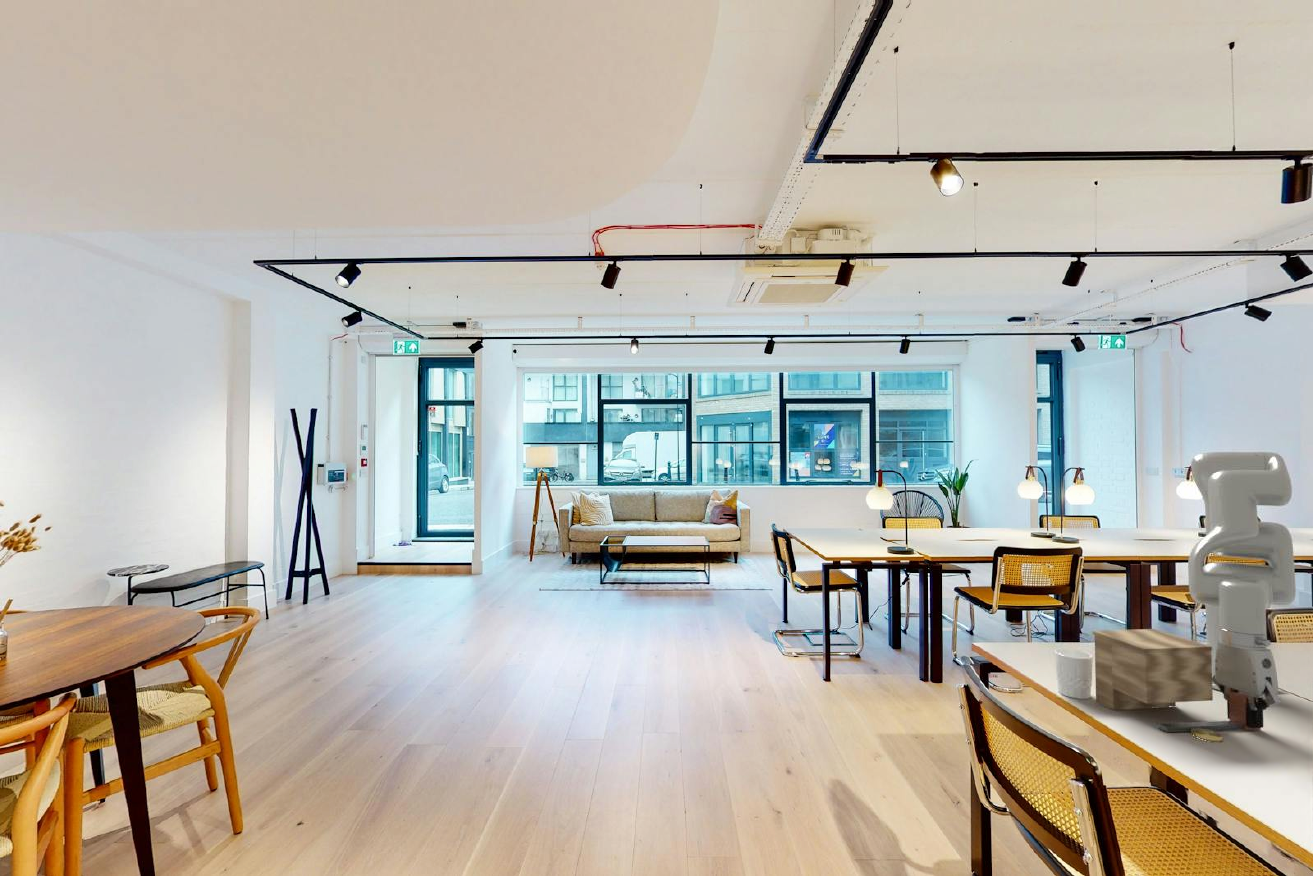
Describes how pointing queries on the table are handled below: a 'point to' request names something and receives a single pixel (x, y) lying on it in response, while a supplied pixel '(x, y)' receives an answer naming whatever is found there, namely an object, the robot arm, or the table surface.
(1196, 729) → the brass token
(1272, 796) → the table surface
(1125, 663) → the oak bench cabinet
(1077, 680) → the white cup
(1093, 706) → the table surface
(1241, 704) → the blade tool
